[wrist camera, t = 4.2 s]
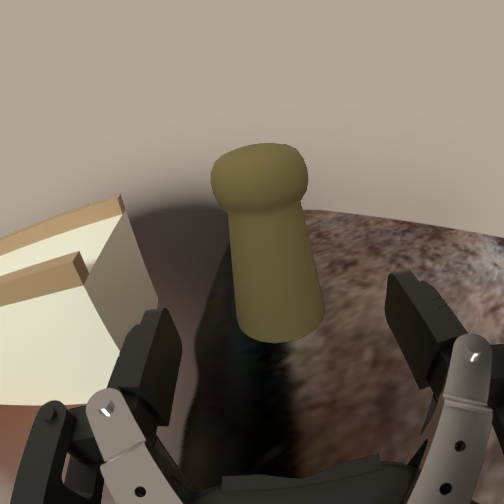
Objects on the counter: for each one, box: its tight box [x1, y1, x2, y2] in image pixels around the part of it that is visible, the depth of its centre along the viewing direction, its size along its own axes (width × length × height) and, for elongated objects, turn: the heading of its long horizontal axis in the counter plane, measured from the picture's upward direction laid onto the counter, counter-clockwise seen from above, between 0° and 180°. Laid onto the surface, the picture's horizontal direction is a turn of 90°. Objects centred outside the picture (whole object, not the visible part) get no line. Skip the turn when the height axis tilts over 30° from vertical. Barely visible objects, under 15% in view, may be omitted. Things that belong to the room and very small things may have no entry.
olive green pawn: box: [211, 143, 325, 343], centre depth 18 cm, size 6×6×11 cm
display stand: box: [0, 194, 158, 405], centre depth 17 cm, size 14×10×9 cm
